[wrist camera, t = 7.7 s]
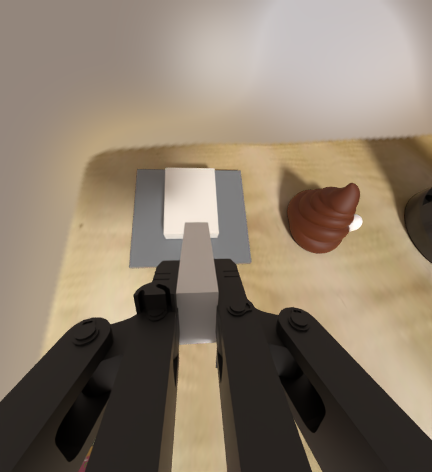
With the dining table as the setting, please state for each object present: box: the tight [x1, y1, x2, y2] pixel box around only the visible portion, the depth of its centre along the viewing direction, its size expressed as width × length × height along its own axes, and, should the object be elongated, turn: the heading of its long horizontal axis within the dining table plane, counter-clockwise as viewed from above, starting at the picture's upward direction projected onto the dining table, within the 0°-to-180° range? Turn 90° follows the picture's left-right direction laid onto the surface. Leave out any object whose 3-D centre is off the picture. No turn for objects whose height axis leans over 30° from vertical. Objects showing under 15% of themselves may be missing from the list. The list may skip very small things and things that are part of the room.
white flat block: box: [164, 168, 219, 239], centre depth 28 cm, size 7×2×10 cm
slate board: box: [129, 169, 251, 268], centre depth 29 cm, size 16×15×1 cm
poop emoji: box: [287, 183, 362, 253], centre depth 26 cm, size 10×8×9 cm
